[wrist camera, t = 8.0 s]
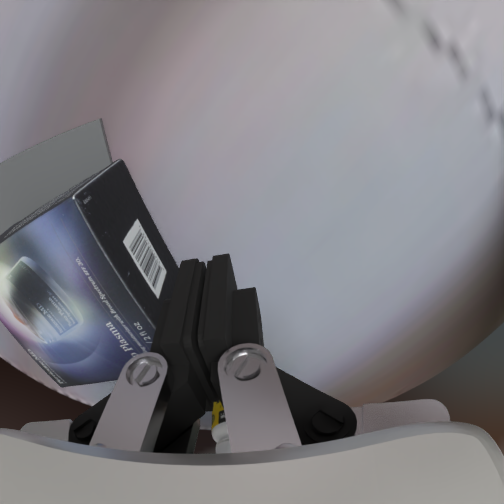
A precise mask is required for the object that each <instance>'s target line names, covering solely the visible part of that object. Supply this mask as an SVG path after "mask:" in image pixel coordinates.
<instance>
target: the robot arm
mask: <svg viewBox="0 0 504 504" xmlns="http://www.w3.org/2000/svg"><path fill="white" fill-rule="evenodd" d="M218 400H220V402H221V404H222V406H223V409H224V412H225V418H226V424H227V429H228V435H229V440H230V446H231V451H232V453H218V454H193V453H194V449H195V445H196V441H197V436H198V432H199V428H200V420H199V418H201V417H202V416H203V415H204V414H205V411H213V402H218ZM0 504H504V456H503V454H502V452H501V451H500V449H499V447H498V446H497V444H496V443H495V441H494V440H493V439H492V438H491V436H490V435H489V434H488V433H487V432H485V431H484V430H483V429H481V428H479V427H478V426H475V425H472V424H468V423H461V422H450V417H449V413H448V410H447V408H446V407H445V406H444V405H443V404H442V403H441V402H438V401H436V400H434V399H422V400H413V401H402V402H391V403H373V404H363V407H349V406H347V405H346V404H344V403H343V402H341V401H339V400H337V399H335V398H333V397H331V396H329V395H327V394H325V393H323V392H321V391H319V390H317V389H315V388H313V387H311V386H310V385H308V384H306V383H304V382H302V381H300V380H298V379H297V378H295V377H293V376H291V375H289V374H287V373H286V372H284V371H282V370H280V369H278V368H277V367H275V364H274V361H273V357H272V355H271V354H270V352H269V351H268V350H267V349H266V348H265V347H264V343H263V332H262V323H261V315H260V309H259V303H258V298H257V292H256V288H255V287H253V288H246V289H239V290H237V285H236V281H235V277H234V272H233V268H232V263H231V259H230V255H229V254H223V255H216V256H213V259H212V260H211V261H208V262H207V269H206V266H205V263H204V262H199V260H198V259H190V260H184V261H182V262H181V265H180V268H179V272H178V275H177V279H176V283H175V286H174V290H173V294H172V298H171V299H165V300H164V302H163V304H162V308H161V312H160V315H159V319H158V322H157V326H156V330H155V333H154V337H153V341H152V345H151V348H150V352H147V353H142V354H139V355H137V356H135V357H133V358H131V359H130V360H129V361H128V362H127V363H126V364H125V366H124V367H123V369H122V371H121V373H120V376H119V378H118V380H117V382H116V384H115V386H114V389H113V391H112V393H110V394H109V395H108V396H106V397H105V398H104V399H102V400H101V401H99V402H98V403H96V404H95V405H94V406H92V407H91V408H89V409H88V410H87V411H85V412H84V413H82V414H81V415H79V416H78V417H77V418H76V419H75V420H74V421H73V422H72V421H71V420H70V419H67V420H58V421H47V422H33V423H28V424H26V425H25V426H23V427H22V429H21V430H20V431H17V430H12V429H4V428H2V429H1V428H0Z"/></svg>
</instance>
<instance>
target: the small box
mask: <svg viewBox="0 0 504 504" xmlns="http://www.w3.org/2000/svg"><path fill="white" fill-rule="evenodd" d="M178 272H179V268H178V266H177V265H176V263H175V261H174V259H173V257H172V255H171V254H170V252H169V250H168V248H167V246H166V244H165V243H164V240H163V239H162V237H161V235H160V233H159V231H158V229H157V228H156V226H155V224H154V222H153V220H152V218H151V216H150V214H149V212H148V210H147V208H146V206H145V204H144V202H143V200H142V198H141V196H140V194H139V192H138V190H137V188H136V186H135V184H134V182H133V180H132V178H131V176H130V174H129V171H128V169H127V167H126V165H125V163H124V161H123V160H122V159H118V160H116V161H115V162H113V163H112V164H110V165H109V166H107V167H106V168H104V169H102V170H101V171H99V172H98V173H96V174H93V175H92V176H90V177H89V178H87V179H85V180H83V181H82V182H80V183H78V184H77V185H75V186H73V187H71V188H70V189H68V190H67V191H65V192H63V193H62V194H60V195H58V196H57V197H55V198H54V199H52V200H51V201H49V202H47V203H46V204H44V205H43V206H41V207H40V208H38V209H37V210H35V211H34V212H33V213H31V214H30V215H28V216H27V217H25V218H24V219H23V220H21V221H19V222H17V223H15V224H13V225H12V226H11V227H10V228H8V229H7V230H6V231H5V232H4V233H2V234H1V235H0V321H1V322H2V323H3V324H4V326H5V327H6V328H7V329H8V331H9V332H10V333H11V334H12V335H13V337H14V338H15V339H16V340H17V341H18V343H19V344H20V345H21V346H22V347H23V348H24V349H25V350H26V352H27V353H28V354H29V355H30V356H31V357H32V358H33V359H34V360H35V361H36V362H37V364H38V365H39V366H40V367H41V368H42V369H43V370H44V371H45V372H46V373H47V374H48V375H49V376H50V377H51V378H52V379H53V380H54V381H55V382H56V383H57V384H58V385H59V386H60V387H67V386H76V385H84V384H92V383H99V382H105V381H113V380H118V378H119V376H120V373H121V371H122V369H123V367H124V366H125V364H126V363H127V362H128V361H129V360H130V359H131V358H133V357H135V356H137V355H139V354H142V353H147V352H150V348H151V345H152V341H153V337H154V333H155V330H156V326H157V322H158V319H159V315H160V312H161V308H162V304H163V302H164V300H165V299H171V298H172V294H173V290H174V286H175V283H176V279H177V275H178Z"/></svg>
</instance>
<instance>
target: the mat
mask: <svg viewBox="0 0 504 504" xmlns="http://www.w3.org/2000/svg"><path fill="white" fill-rule="evenodd" d="M112 163H113V162H112V158H111V154H110V151H109V147H108V143H107V139H106V135H105V131H104V127H103V123H102V119H98V120H95V121H92V122H90V123H87V124H84V125H82V126H79V127H77V128H74V129H72V130H69V131H67V132H64V133H62V134H60V135H57V136H55V137H53V138H50V139H48V140H46V141H44V142H42V143H39V144H37V145H35V146H33V147H31V148H29V149H27V150H25V151H23V152H21V153H19V154H17V155H15V156H13V157H11V158H9V159H7V160H6V161H4V162H2V163H0V235H1V234H2V233H4V232H5V231H6V230H7V229H8V228H10V227H11V226H12V225H13V224H15V223H17V222H19V221H21V220H23V219H24V218H25V217H27V216H28V215H30V214H31V213H33V212H34V211H35V210H37V209H38V208H40V207H41V206H43V205H44V204H46V203H47V202H49V201H51V200H52V199H54V198H55V197H57V196H58V195H60V194H62V193H63V192H65V191H67V190H68V189H70V188H71V187H73V186H75V185H77V184H78V183H80V182H82V181H83V180H85V179H87V178H89V177H90V176H92V175H93V174H96V173H98V172H99V171H101V170H102V169H104V168H106V167H107V166H109V165H110V164H112Z"/></svg>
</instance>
